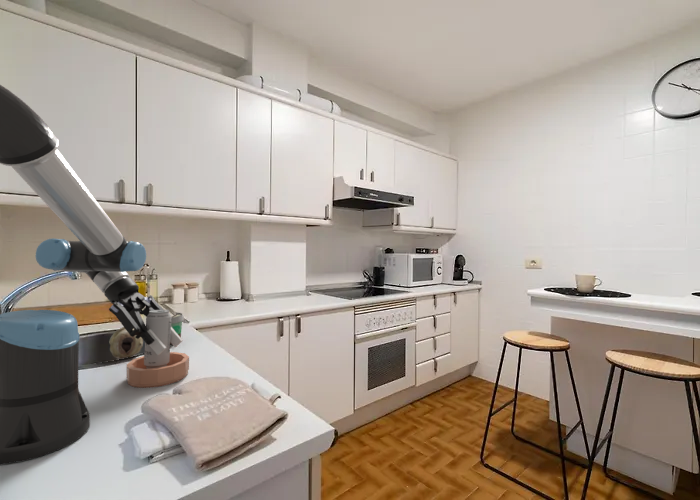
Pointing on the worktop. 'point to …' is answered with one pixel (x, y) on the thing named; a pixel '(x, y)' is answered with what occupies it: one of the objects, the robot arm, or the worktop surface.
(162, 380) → the terracotta bowl
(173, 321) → the food container
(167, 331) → the energy drink can
